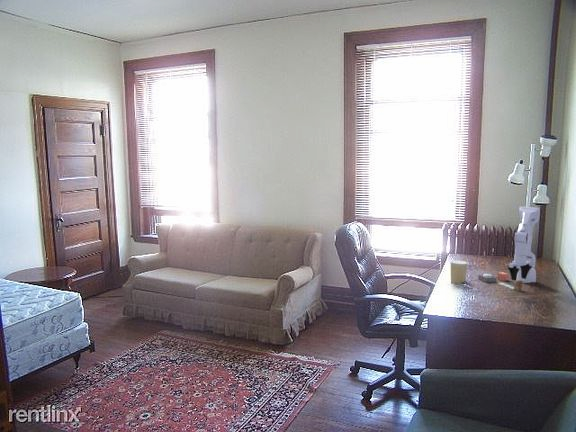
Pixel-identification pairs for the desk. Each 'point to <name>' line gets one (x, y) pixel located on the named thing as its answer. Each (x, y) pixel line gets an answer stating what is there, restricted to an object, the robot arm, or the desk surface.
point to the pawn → (518, 285)
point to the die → (502, 276)
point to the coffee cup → (458, 271)
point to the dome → (487, 275)
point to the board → (492, 280)
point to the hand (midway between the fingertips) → (518, 279)
